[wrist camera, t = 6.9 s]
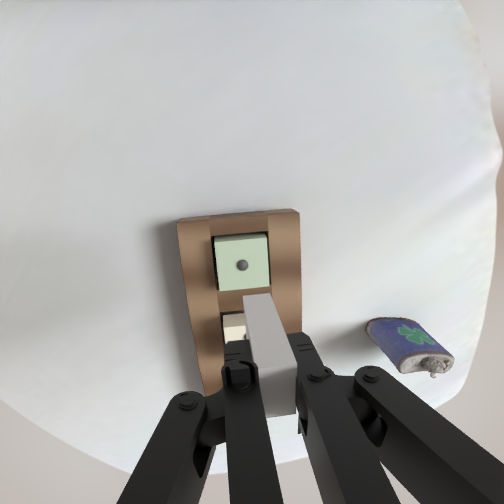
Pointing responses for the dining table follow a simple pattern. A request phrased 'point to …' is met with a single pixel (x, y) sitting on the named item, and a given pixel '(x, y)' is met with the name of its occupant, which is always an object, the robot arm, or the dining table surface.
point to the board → (215, 301)
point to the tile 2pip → (234, 327)
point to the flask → (409, 346)
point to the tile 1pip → (242, 261)
